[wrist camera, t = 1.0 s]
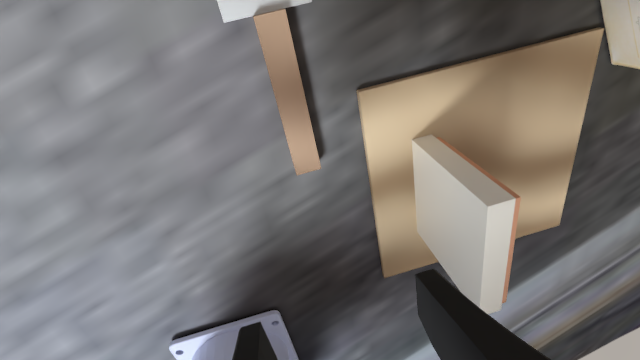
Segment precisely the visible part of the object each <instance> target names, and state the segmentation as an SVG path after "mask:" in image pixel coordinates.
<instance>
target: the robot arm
mask: <svg viewBox="0 0 640 360" xmlns="http://www.w3.org/2000/svg"><path fill="white" fill-rule="evenodd" d="M415 276H416V291H417V305H418V315H419V317H420V320H421V322H422V324H423V326H424V328H425V331H426V333H427V335H428V337H429V339H430V341H431V343H432V345H433V347H434V349H435V351H436V352H437V354H438V356H439V357H440V359H441V360H551V359H549V358H548V357H546V356H545V355H543V354H542V353H540V352H539V351H537V350H536V349H534V348H533V347H531V346H530V345H528V344H527V343H526V342H524V341H523V340H521V339H520V338H519V337H517V336H516V335H514V334H513V333H512V332H510V331H509V330H508V329H506V328H505V327H504V326H502V325H501V324H500V323H498V322H497V321H496V320H494V319H493V318H492V317H491V316H489V315H488V314H487V313H485V312H484V311H483V310H482V309H480V308H479V307H478V306H477V305H475V304H474V303H473V302H472V301H471V300H469V299H468V298H467V297H466V296H465V295H463V294H462V293H461V292H460V291H459V290H457V289H456V288H455V287H454V286H453V285H452V284H451V283H449V282H448V281H447V280H446V279H445V278H444V277H443V276H442V275H441V274H439V273H438V272H437V271H436V270H434V269H431V270H428V271H425V272H421V273H418V274H415ZM169 350H170V351H171V353H172V354H173V355H174V357H175V358H176V359H177V360H299V359H298V356H297V354H296V351H295V349H294V346H293V344H292V341H291V339H290V337H289V334H288V332H287V329H286V327H285V324H284V322H283V319H282V317H281V314H280V312H279V311H277V310H271V311H268V312H265V313H262V314H258V315H255V316H252V317H248V318H245V319H242V320H238V321H235V322H232V323H228V324H225V325H222V326H219V327H215V328H212V329H209V330H205V331H202V332H199V333H195V334H192V335H189V336H185V337H182V338H179V339H176V340H173V341H172V342H171V343H170V346H169Z"/></svg>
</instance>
